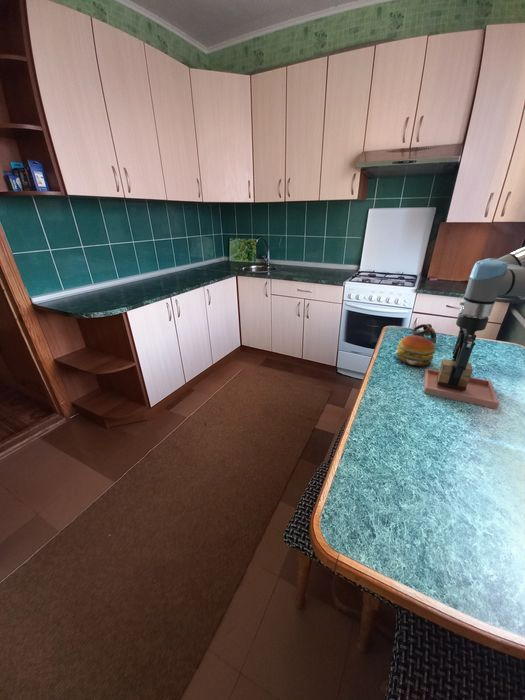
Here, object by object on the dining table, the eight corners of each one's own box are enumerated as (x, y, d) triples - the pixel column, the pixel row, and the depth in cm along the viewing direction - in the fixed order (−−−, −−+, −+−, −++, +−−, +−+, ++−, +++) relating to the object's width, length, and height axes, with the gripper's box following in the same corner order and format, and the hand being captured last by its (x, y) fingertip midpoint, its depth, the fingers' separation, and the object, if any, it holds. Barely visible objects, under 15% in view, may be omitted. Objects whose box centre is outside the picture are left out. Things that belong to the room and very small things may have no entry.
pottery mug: (436, 347, 127) (429, 332, 124) (413, 350, 134) (407, 335, 131) (441, 331, 134) (435, 317, 131) (419, 335, 141) (413, 321, 138)
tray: (488, 386, 99) (490, 380, 98) (496, 409, 88) (499, 403, 87) (424, 373, 107) (425, 368, 106) (424, 393, 96) (425, 387, 95)
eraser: (463, 384, 98) (471, 363, 94) (465, 391, 94) (472, 369, 90) (436, 378, 101) (442, 358, 97) (437, 385, 97) (443, 364, 94)
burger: (430, 372, 107) (437, 348, 103) (391, 363, 114) (396, 340, 109) (433, 357, 118) (439, 334, 113) (397, 350, 124) (402, 328, 119)
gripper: (456, 304, 95) (438, 366, 105) (462, 322, 81) (440, 391, 91) (484, 307, 92) (462, 370, 102) (494, 326, 78) (468, 397, 88)
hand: (452, 380), depth 97 cm, fingers closed on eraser, 4 cm apart
